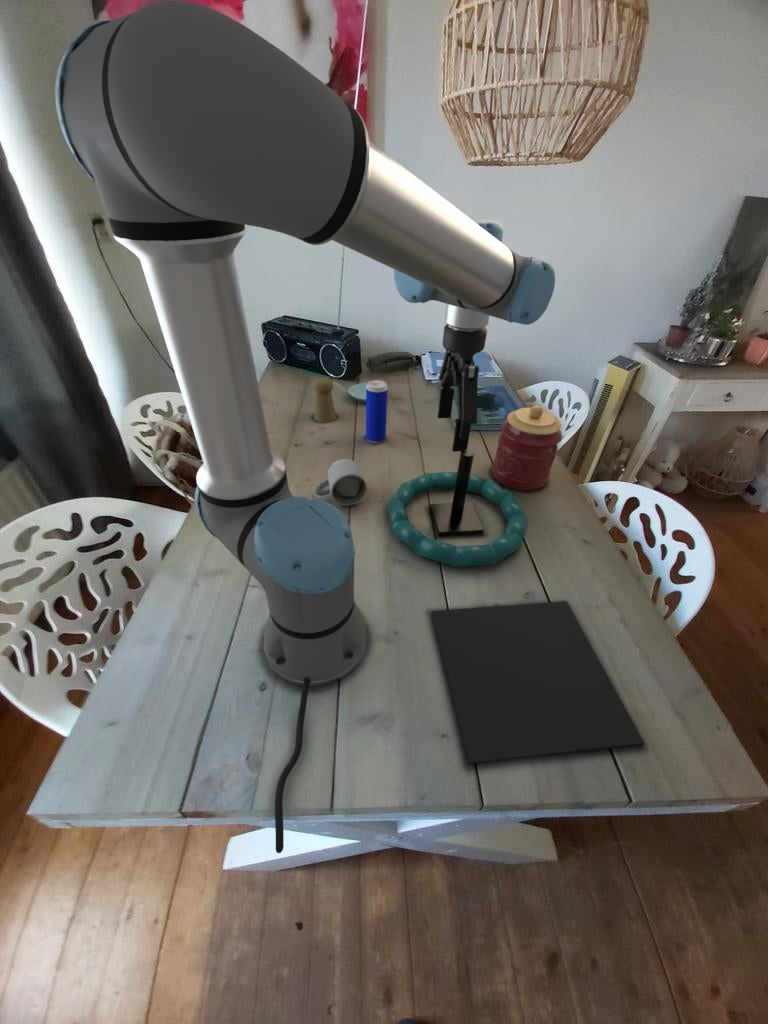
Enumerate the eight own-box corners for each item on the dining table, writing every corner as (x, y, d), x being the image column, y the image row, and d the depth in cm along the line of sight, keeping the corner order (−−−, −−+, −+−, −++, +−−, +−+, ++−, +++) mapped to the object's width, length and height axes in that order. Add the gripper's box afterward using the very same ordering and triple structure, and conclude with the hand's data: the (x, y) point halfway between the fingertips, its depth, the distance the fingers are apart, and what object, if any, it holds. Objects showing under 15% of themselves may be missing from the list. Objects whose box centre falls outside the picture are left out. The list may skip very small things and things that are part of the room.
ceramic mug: (359, 481, 99) (358, 452, 94) (367, 503, 93) (367, 473, 88) (312, 488, 97) (309, 458, 92) (317, 510, 91) (314, 480, 86)
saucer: (372, 386, 140) (372, 379, 139) (394, 400, 133) (395, 393, 131) (340, 395, 134) (340, 388, 133) (362, 409, 127) (362, 402, 126)
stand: (483, 534, 87) (499, 465, 77) (438, 536, 86) (448, 467, 76) (470, 506, 94) (484, 439, 83) (429, 508, 93) (437, 440, 82)
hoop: (545, 565, 81) (550, 550, 78) (398, 574, 78) (399, 559, 76) (498, 480, 102) (501, 467, 99) (382, 484, 99) (382, 471, 96)
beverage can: (387, 435, 116) (390, 381, 106) (382, 445, 112) (384, 389, 102) (369, 432, 117) (369, 378, 107) (363, 442, 113) (363, 386, 103)
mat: (642, 745, 56) (644, 743, 56) (468, 764, 54) (468, 762, 53) (565, 603, 74) (566, 601, 74) (431, 613, 71) (431, 610, 71)
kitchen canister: (489, 458, 109) (503, 391, 98) (542, 463, 108) (563, 395, 97) (493, 489, 99) (510, 417, 88) (552, 494, 98) (576, 423, 87)
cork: (312, 413, 124) (309, 375, 118) (333, 411, 126) (331, 373, 119) (316, 423, 120) (313, 384, 113) (337, 420, 122) (336, 382, 115)
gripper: (510, 350, 68) (486, 465, 81) (468, 305, 87) (454, 405, 100) (463, 351, 67) (446, 467, 80) (431, 305, 86) (422, 406, 99)
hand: (451, 433), depth 90 cm, fingers open, 13 cm apart
